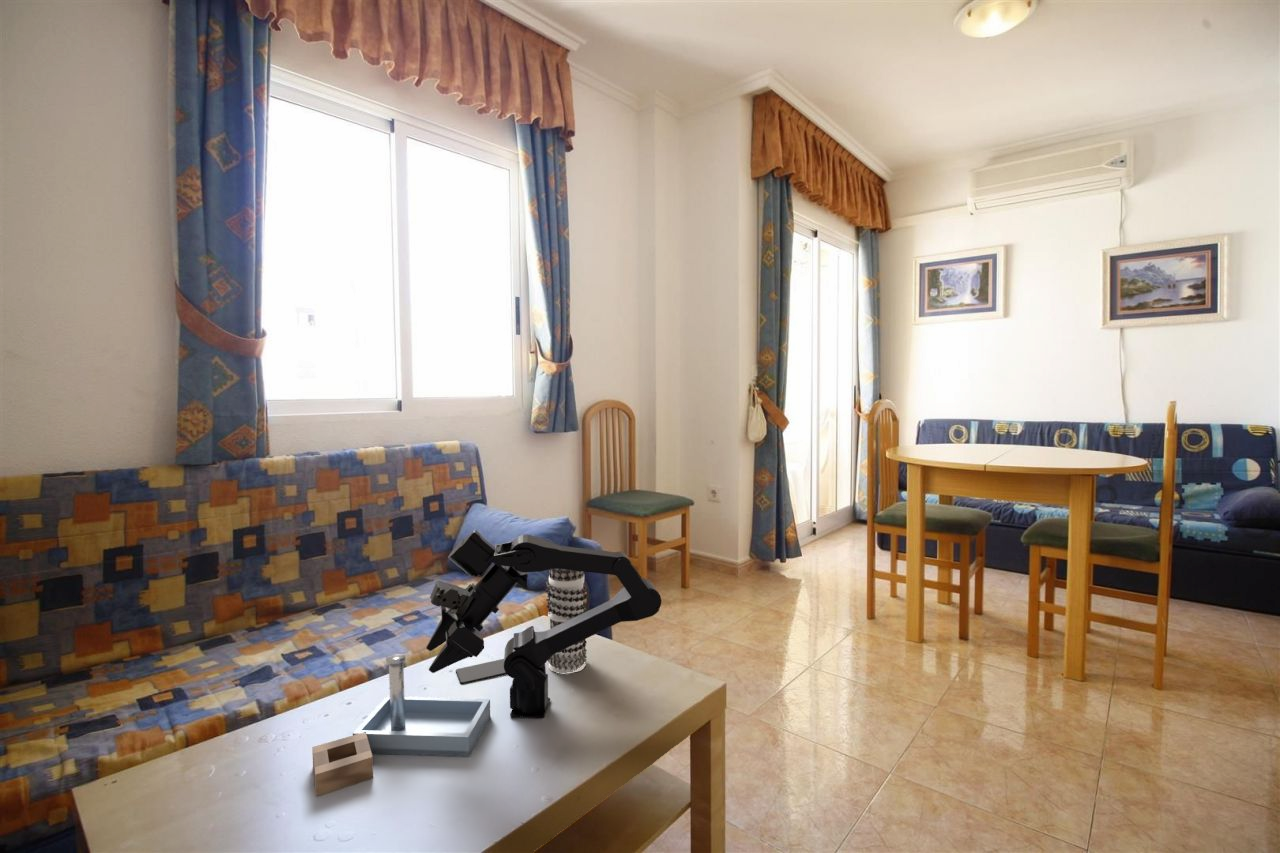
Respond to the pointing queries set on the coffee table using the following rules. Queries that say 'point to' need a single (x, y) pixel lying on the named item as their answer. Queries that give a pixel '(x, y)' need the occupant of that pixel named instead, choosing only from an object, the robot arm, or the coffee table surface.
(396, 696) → the metal pin
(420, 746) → the tray
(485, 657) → the coffee table surface
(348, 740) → the pin block
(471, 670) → the smartphone
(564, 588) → the decorative candle
